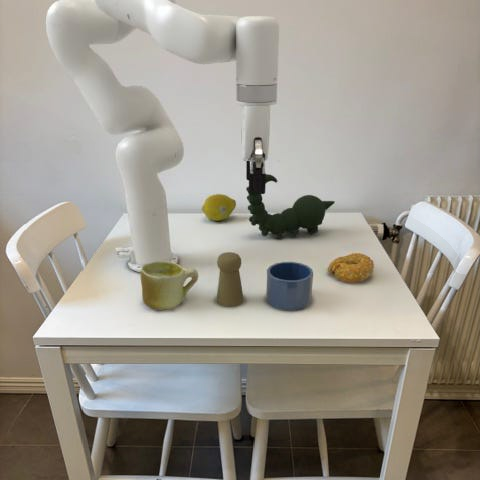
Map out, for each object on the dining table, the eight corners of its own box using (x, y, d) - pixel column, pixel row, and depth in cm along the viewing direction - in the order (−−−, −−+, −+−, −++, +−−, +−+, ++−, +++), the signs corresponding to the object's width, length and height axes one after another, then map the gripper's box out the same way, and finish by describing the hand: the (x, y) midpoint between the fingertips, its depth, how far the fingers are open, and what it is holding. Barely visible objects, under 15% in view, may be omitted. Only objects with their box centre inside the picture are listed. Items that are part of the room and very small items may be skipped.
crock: (267, 311, 103) (268, 281, 99) (265, 289, 111) (266, 261, 108) (313, 310, 103) (316, 281, 99) (307, 289, 111) (309, 261, 108)
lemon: (203, 225, 147) (202, 199, 143) (201, 216, 154) (199, 191, 150) (238, 223, 149) (238, 197, 145) (234, 214, 155) (234, 190, 151)
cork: (240, 308, 104) (240, 261, 98) (213, 305, 105) (211, 259, 99) (246, 295, 109) (245, 250, 103) (220, 292, 110) (218, 248, 104)
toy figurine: (255, 249, 135) (340, 235, 138) (249, 182, 125) (341, 168, 128) (248, 236, 143) (329, 223, 146) (242, 173, 133) (329, 160, 136)
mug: (132, 308, 100) (138, 261, 98) (140, 299, 110) (147, 256, 108) (190, 318, 101) (198, 272, 99) (193, 308, 111) (200, 266, 109)
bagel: (334, 263, 123) (336, 245, 121) (377, 271, 119) (380, 253, 116) (321, 278, 116) (322, 260, 113) (366, 288, 111) (369, 269, 109)
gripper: (235, 89, 97) (235, 175, 105) (237, 101, 82) (238, 200, 91) (272, 89, 97) (269, 175, 106) (281, 100, 82) (278, 199, 91)
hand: (255, 186), depth 98 cm, fingers open, 9 cm apart
